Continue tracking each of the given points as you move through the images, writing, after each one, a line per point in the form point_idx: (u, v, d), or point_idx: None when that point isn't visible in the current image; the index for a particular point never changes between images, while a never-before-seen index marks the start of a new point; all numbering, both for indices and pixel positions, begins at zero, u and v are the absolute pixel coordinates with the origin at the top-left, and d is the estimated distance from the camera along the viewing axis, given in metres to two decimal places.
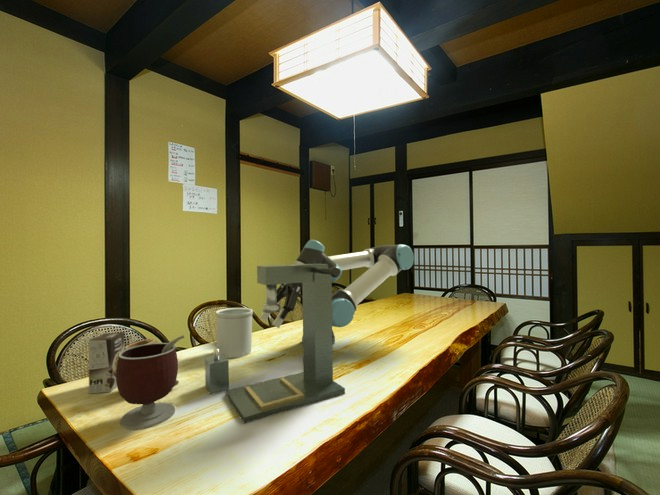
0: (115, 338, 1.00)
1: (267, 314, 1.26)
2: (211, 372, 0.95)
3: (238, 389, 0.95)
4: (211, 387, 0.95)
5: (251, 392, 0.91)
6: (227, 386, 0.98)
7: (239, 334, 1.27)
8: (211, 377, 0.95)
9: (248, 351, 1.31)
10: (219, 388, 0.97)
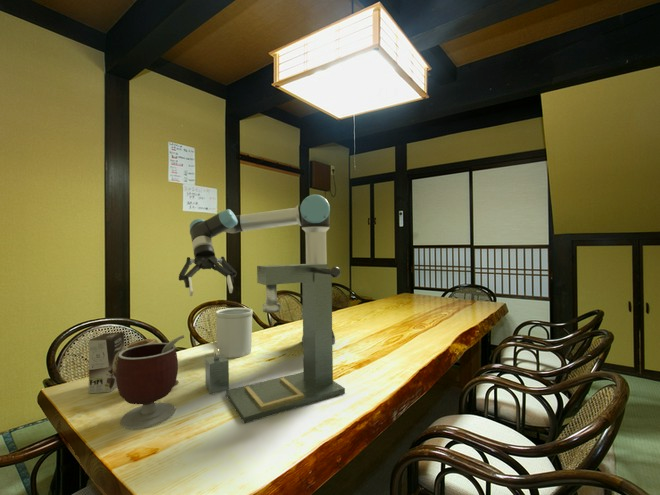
0: (115, 338, 1.00)
1: (229, 284, 1.19)
2: (211, 372, 0.95)
3: (238, 389, 0.95)
4: (211, 387, 0.95)
5: (251, 392, 0.91)
6: (227, 386, 0.98)
7: (239, 334, 1.27)
8: (211, 377, 0.95)
9: (248, 351, 1.31)
10: (219, 388, 0.97)
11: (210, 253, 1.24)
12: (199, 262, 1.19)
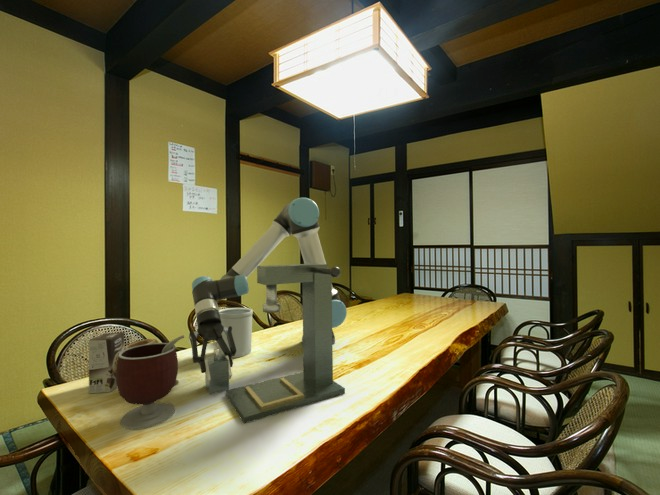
0: (115, 338, 1.00)
1: None
2: (211, 372, 0.95)
3: (238, 389, 0.95)
4: (211, 387, 0.95)
5: (251, 392, 0.91)
6: (227, 386, 0.98)
7: (239, 334, 1.27)
8: (211, 377, 0.95)
9: (248, 351, 1.31)
10: (219, 388, 0.97)
11: (215, 321, 1.08)
12: (206, 335, 1.03)
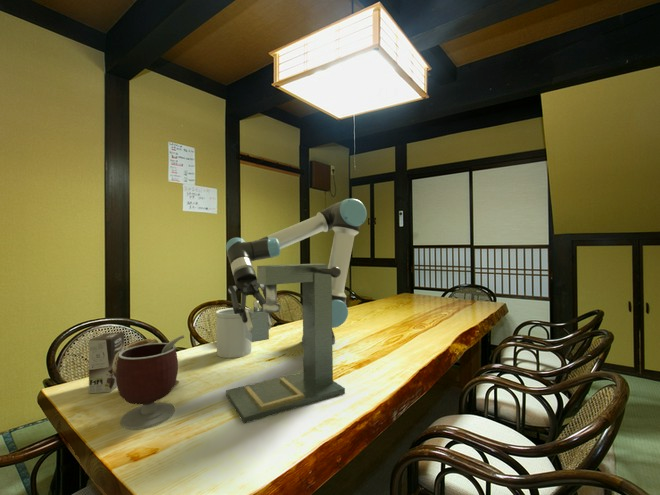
0: (115, 338, 1.00)
1: None
2: (253, 321, 0.99)
3: (238, 389, 0.95)
4: (253, 335, 0.99)
5: (251, 392, 0.91)
6: (267, 335, 1.02)
7: (239, 334, 1.27)
8: (253, 326, 0.99)
9: (248, 351, 1.31)
10: (260, 337, 1.00)
11: (252, 277, 1.12)
12: (244, 289, 1.07)
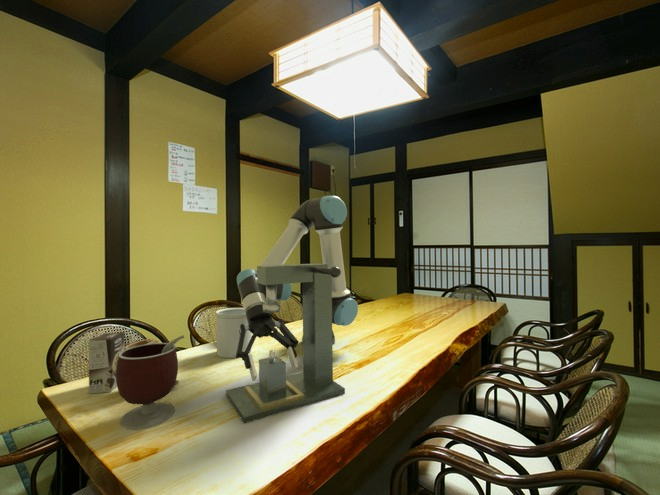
0: (115, 338, 1.00)
1: (292, 360, 0.94)
2: (269, 376, 0.88)
3: (238, 389, 0.95)
4: (269, 392, 0.88)
5: (251, 392, 0.91)
6: (284, 391, 0.91)
7: (239, 334, 1.27)
8: (269, 381, 0.88)
9: None
10: (276, 393, 0.89)
11: (266, 316, 1.01)
12: (256, 330, 0.96)
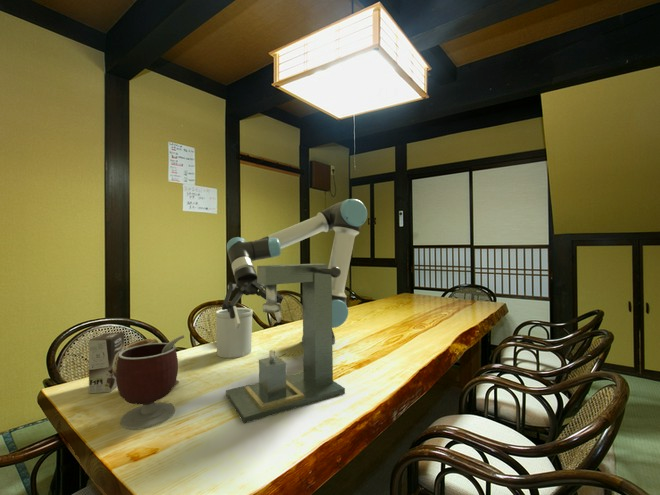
0: (115, 338, 1.00)
1: (276, 312, 1.06)
2: (269, 376, 0.88)
3: (238, 389, 0.95)
4: (269, 392, 0.88)
5: (251, 392, 0.91)
6: (284, 391, 0.91)
7: (239, 334, 1.27)
8: (269, 381, 0.88)
9: (248, 351, 1.31)
10: (276, 393, 0.89)
11: (252, 277, 1.11)
12: (242, 288, 1.07)
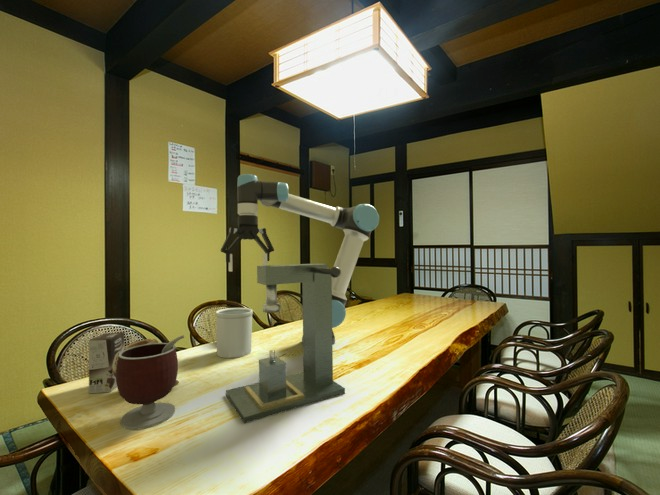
0: (115, 338, 1.00)
1: (264, 263, 1.26)
2: (269, 376, 0.88)
3: (238, 389, 0.95)
4: (269, 392, 0.88)
5: (251, 392, 0.91)
6: (284, 391, 0.91)
7: (239, 334, 1.27)
8: (269, 381, 0.88)
9: (248, 351, 1.31)
10: (276, 393, 0.89)
11: (253, 225, 1.23)
12: (242, 236, 1.21)
